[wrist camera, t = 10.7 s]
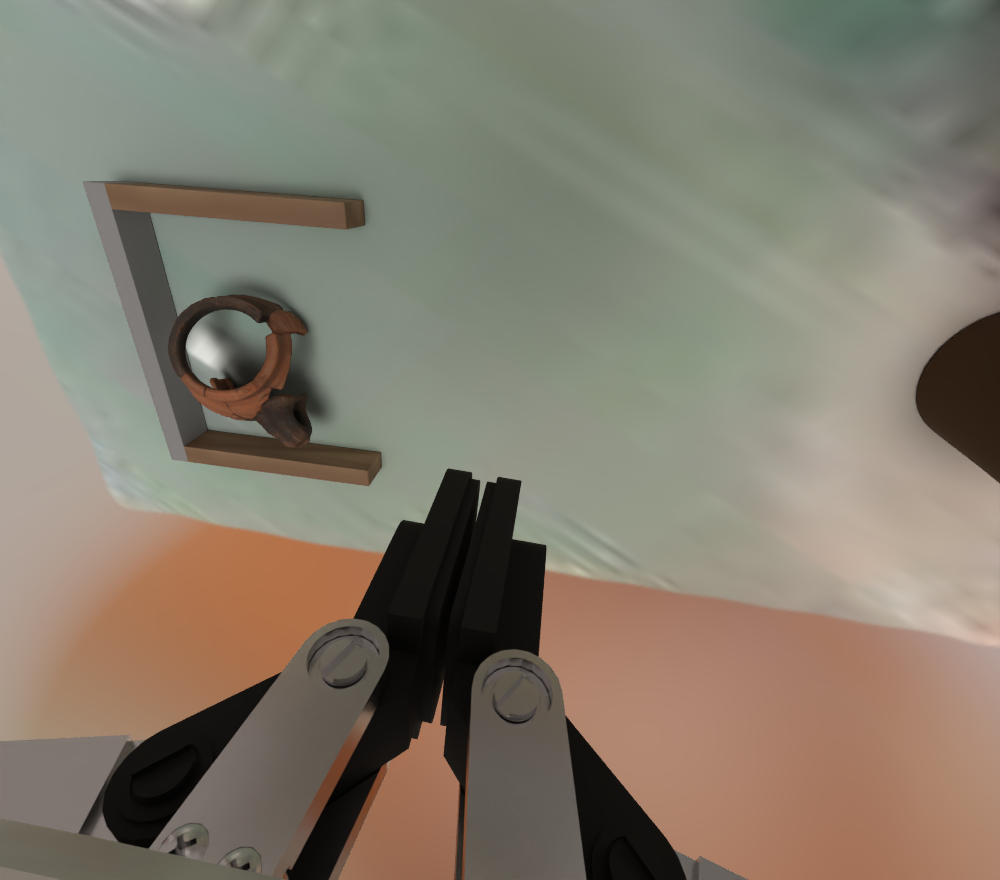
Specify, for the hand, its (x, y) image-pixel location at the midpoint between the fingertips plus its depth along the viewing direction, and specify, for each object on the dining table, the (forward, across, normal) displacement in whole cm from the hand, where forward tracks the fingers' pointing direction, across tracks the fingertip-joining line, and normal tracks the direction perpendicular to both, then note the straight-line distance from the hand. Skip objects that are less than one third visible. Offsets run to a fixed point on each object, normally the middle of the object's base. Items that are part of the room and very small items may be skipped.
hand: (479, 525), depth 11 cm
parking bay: (+25, +20, +7) cm, 33 cm away
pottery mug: (+26, +20, +9) cm, 34 cm away
